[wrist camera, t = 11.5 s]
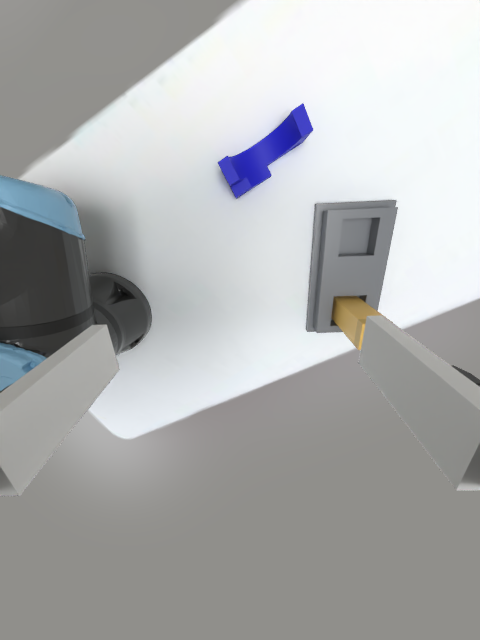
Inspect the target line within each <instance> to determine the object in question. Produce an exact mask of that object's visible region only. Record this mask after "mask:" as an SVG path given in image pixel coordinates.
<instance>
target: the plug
mask: <svg viewBox="0 0 480 640" xmlns="http://www.w3.org/2000/svg"><path fill="white" fill-rule="evenodd" d="M380 315H382V314H380V313H379V312H378V311H376V310H375V309H374V308H372V307H371V306H370V305H368V304H367V303H365V302H364V301H363V300H361V299H360V298H359V297H357V296H334V298H333V306H332V315H331V318H332V319H333V321H334V322H335V323H336V324H337V325H338V327H339V328H340V329H341V330H342V331H343V332H344V334H345V335H346V336H347V337H348V338H349V340H350V341H351V342H352V343H353V344H354V346H355V347H356V348H357V349H358V350H361V346H362V340H363V334H364V329H365V323H366V318H367V316H380ZM385 318H386V317H385ZM388 320H389V319H388ZM389 321H390V320H389ZM392 323H393V322H392Z"/></svg>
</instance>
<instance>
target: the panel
mask: <svg viewBox="0 0 480 640" xmlns="http://www.w3.org/2000/svg"><path fill="white" fill-rule="evenodd" d="M395 205H396V200H388V201H366V202H345V203H323V204H315V217H314V230H313V244H312V257H311V271H310V284H309V298H308V311H307V325H306V330H307V332H317V333H327V332H343V331H342V330H341V329H340V328H339V327H338V325H337V324H336V323H335V322H334V321H333V319H332V318H331V315H332V306H333V298H334V296H357V297H359V298H360V299H361V300H363V301H364V302H365V303H367V304H368V305H370V306H371V307H372V308H374V309H375V310H376V311H377V310H378V305H379V300H380V295H381V290H382V285H383V280H384V275H385V270H386V265H387V260H388V255H389V250H390V245H391V239H392V234H393V229H394V224H395V219H396V214H397V209H398V207H395Z"/></svg>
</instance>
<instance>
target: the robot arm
mask: <svg viewBox="0 0 480 640" xmlns="http://www.w3.org/2000/svg"><path fill="white" fill-rule="evenodd" d="M84 240H85V236H84V235H83V234H82V230H81V225H80V220H79V216H78V211H77V207H76V205H75V204H74V202H73V201H72V200H71V199H70V198H69V197H68V196H67V195H65V194H64V193H62V192H60V191H57V190H55V189H51V188H48V187H45V186H41V185H37V184H34V183H30V182H26V181H22V180H18V179H14V178H10V177H5V176H1V175H0V496H20V495H21V494H22V492H23V491H24V490H25V488H26V487H27V486H28V485H29V483H30V482H31V481H32V480H33V478H34V477H35V476H36V474H37V473H38V472H39V471H40V470H41V468H42V467H43V466H44V465H45V463H46V462H47V461H48V459H49V458H50V457H51V455H52V454H53V453H54V452H55V451H56V449H57V448H58V447H59V446H60V444H61V443H62V442H63V441H64V439H65V438H66V437H67V435H68V434H69V433H70V431H71V430H72V429H73V428H74V427H75V425H76V424H77V423H78V422H79V420H80V419H81V418H82V416H83V415H84V414H85V413H86V411H87V410H88V409H89V408H90V406H91V405H92V404H93V403H94V401H95V400H96V399H97V398H98V396H99V395H100V394H101V392H102V391H103V390H104V389H105V387H106V386H107V385H108V384H109V382H110V381H111V380H112V379H113V377H114V376H115V375H116V373H117V372H118V371H119V370H120V369H119V366H118V362H117V359H116V355H118V354H120V353H123V352H125V351H127V350H130V349H132V348H133V347H135V346H136V345H138V344H139V343H140V342H141V341H142V339H143V338H144V337H145V336H146V334H147V333H148V331H149V329H150V325H151V310H150V307H149V304H148V302H147V300H146V298H145V296H144V295H143V293H142V292H141V291H140V290H139V289H138V288H137V287H136V286H135V285H134V284H132V283H131V282H130V281H128V280H126V279H125V278H123V277H120V276H118V275H114V274H110V273H95V274H91V275H89V273H88V266H87V259H86V251H85V244H84ZM359 364H360V366H361V367H362V368H363V370H364V371H365V372H366V373H367V375H368V376H369V377H370V379H371V380H372V381H373V383H374V384H375V385H376V386H377V388H378V389H379V390H380V392H381V393H382V394H383V396H384V397H385V398H386V399H387V401H388V402H389V403H390V405H391V406H392V407H393V409H394V410H395V411H396V413H397V414H398V415H399V416H400V418H401V419H402V420H403V422H404V423H405V424H406V425H407V427H408V428H409V429H410V431H411V432H412V433H413V435H414V436H415V437H416V439H417V440H418V441H419V442H420V444H421V445H422V446H423V448H424V449H425V450H426V452H427V453H428V454H429V456H430V457H431V458H432V459H433V461H434V462H435V463H436V465H437V466H438V467H439V469H440V470H441V471H442V473H443V474H444V475H445V476H446V478H447V479H448V480H449V482H450V483H451V484H452V486H453V487H454V488H455V489H456V490H480V380H479V379H478V378H476V377H475V376H473V375H472V374H470V373H468V372H466V371H464V370H462V369H460V368H458V367H455V366H451V365H449V364H448V363H446V362H445V361H444V360H442V359H441V358H440V357H438V356H437V355H436V354H434V353H433V352H431V351H430V350H429V349H427V348H426V347H425V346H423V345H422V344H421V343H419V342H418V341H417V340H415V339H414V338H412V337H411V336H410V335H408V334H407V333H406V332H404V331H403V330H402V329H400V328H399V327H398V326H396V325H395V324H394V323H392V322H391V321H389V320H388V319H387V318H385V317H384V316H383V315H380V316H367V318H366V323H365V329H364V334H363V340H362V346H361V351H360V357H359Z"/></svg>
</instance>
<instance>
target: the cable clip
mask: <svg viewBox="0 0 480 640" xmlns="http://www.w3.org/2000/svg"><path fill="white" fill-rule="evenodd" d="M312 131H313V128H312V125H311V123H310V120H309V117H308V115H307V112H306V109H305V107H304V104H301V105H300V106H298V107H297V108H295V109H294V110H293V111H291V113H290V115H289V116H288V117H287V118H286V119H285V120H284V121H283V123H282V124H280V125H279V126H278V127H277V128H276V129H275V130H274V131H273V132H271V133H270V134H269V135H268V136H266V137H265V138H264V139H262V140H261V141H260V142H258V143H257V144H255V145H254V146H252V147H251V148H249V149H248V150H246V151H244V152H242V153H240V154H238V155H236V156H233V157H228V156H226V157H225V158H224V159H222V160H221V161H219V162H218V164H219V166H220V168H221V170H222V172H223V174H224V176H225V178H226V180H227V182H228V183H229V185H230V187H231V189H232V191H233V193H234V195H235V197H236V199H237V198H238V197H240V196H241V195H243V194H244V193H246V192H247V191H249V190H251V189H252V188H254V187H255V186H257V185H258V184H260V183H261V182H263V181H264V180H266V179H268V178H269V177H271V174H270V171H269V169H268V167H267V166H268V165H269V164H271V163H272V162H274V161H275V160H277V159H278V158H280V157H281V156H283V155H284V154H286V153H287V152H289V151H290V150H292V149H293V148H295V147H296V146H298V145H300V144H301V143H303V141H304V140H305V139H306V138H307V137H308V135H309V134H310V133H311V132H312Z"/></svg>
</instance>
